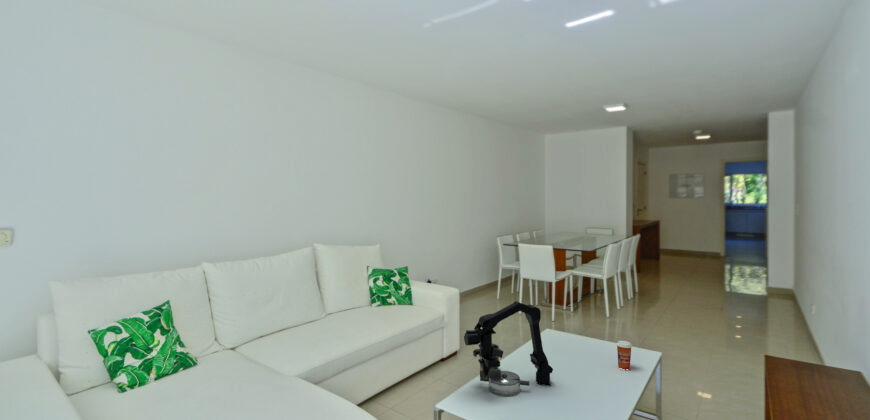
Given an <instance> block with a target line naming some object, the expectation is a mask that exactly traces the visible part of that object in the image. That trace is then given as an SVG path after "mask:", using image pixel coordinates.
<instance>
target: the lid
mask: <svg viewBox="0 0 870 420" xmlns="http://www.w3.org/2000/svg"><path fill="white" fill-rule="evenodd" d="M480 378H490V380H491V381H492V382H494V383H496V384H499V385H514V384H517V383H518V382H519V381H520V380H521V377H520V375H518V374H517V373H516V372H512V371H510V370H501V369H500V368H499V369H489V372H488V376H485V374H484V372H483V369H480V368H479V379H480Z"/></svg>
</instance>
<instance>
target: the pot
mask: <svg viewBox="0 0 870 420" xmlns="http://www.w3.org/2000/svg"><path fill="white" fill-rule="evenodd" d="M479 381H480V382H488V390H489V391H490V393H491V394H493V395H496V396H499V397H504V398H506V397H507V398H508V397H510V398H511V397H514V396H515V397H516V396H518V395H519V394H520V393H521V386H526V387H527V386H529V387H530V381H529V380H521V379H520V381H519V382H518V383H517V384H514V385H499V384H496V383H494V382H492V381H491V380H490V378H480V377H479Z"/></svg>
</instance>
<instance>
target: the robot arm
mask: <svg viewBox="0 0 870 420" xmlns="http://www.w3.org/2000/svg"><path fill="white" fill-rule="evenodd" d="M518 312H522V313H524V316H525V318H526V320H527V322H528V324H529V331H530V337H531V343H532V353H529V357H530V362H531V363H532V365H534V368H535V369H536V371H535V382H536V385H541V386H550V387H551V374H552V373H553V371H554V368H553V367H552V366H551V365H550V364H549V361H548V357H547V355H546V353H545V352H544V348H543V341H542V336H541V335H542V334H541V328H540V322H541V319H542V311H541V309H540V308H539V307H537V306H535V305H533V304H525V303H521V302H520V301H518V300H517V301H513V303H511V304H509V305H507V306H506V307H504V308H501V309H499V310H498V311H495V312H494V313H487V314H485V315H481V316H480V317H479V318H478V322H477V323H476V325H475V326H474V327H473V330H472V329H471V330H470V329H469V330H465V333H464V336H463V341H464V344H465V346H475V345H478V348H476V349H474V350H473V351H472V355H473V357H475V358H476V357H477V356H478V357H479V359H478V360H477V361H478V362H479V366H480V365H481V367H482V369H483V372H484V374H485V376H488V372H489V369H490V368H493V367H499V368H500V367H501V361H500V360H497V359H496V358H491V357H495V356H498V357H499V359H502V358H503V355H504V353H505V352H504V351H503V350H502V349H500V347H499V348H498V347H497V346H496V345H497V344H496V345H494V344H495V343H493V335H496V334H497V332H496V331H495V330H494V328H495V327H497V326H498V325H499V323H500V322H502V321H504V320H505V319H507V318H509V317H511V316H513V315H515V314H517V313H518ZM492 344H493V345H492ZM479 347H480V348H479Z"/></svg>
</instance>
